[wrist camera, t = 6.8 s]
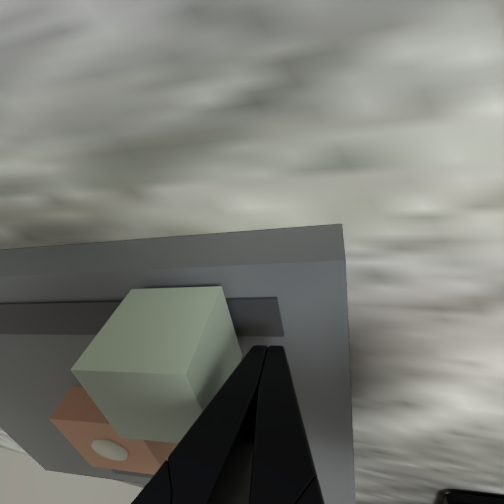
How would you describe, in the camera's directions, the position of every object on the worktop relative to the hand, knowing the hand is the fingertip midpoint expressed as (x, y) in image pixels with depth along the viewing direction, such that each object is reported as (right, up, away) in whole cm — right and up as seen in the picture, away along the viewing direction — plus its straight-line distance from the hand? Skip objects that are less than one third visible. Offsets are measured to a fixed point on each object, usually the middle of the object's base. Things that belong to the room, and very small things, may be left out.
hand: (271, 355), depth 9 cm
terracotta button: (-6, -5, +6) cm, 10 cm away
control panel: (-6, -4, +8) cm, 11 cm away
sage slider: (-3, 0, +2) cm, 3 cm away
